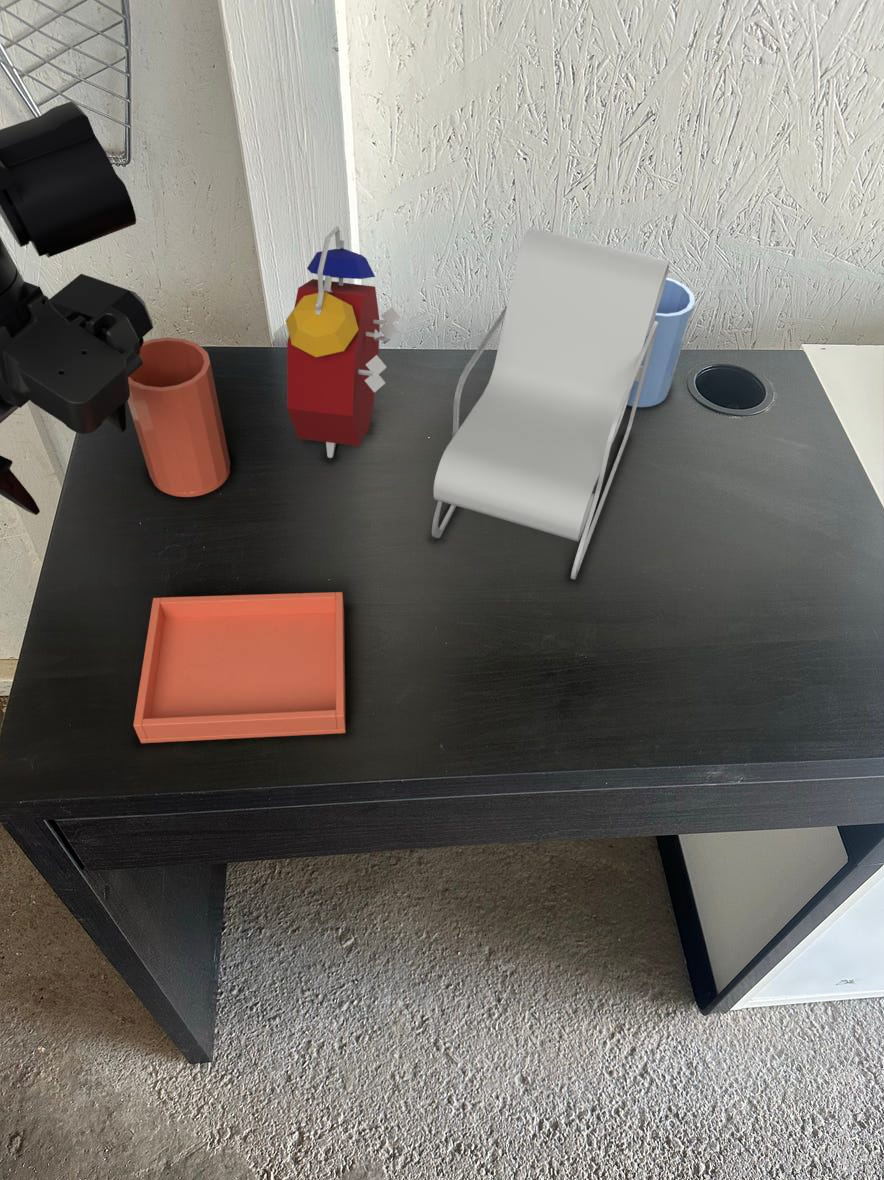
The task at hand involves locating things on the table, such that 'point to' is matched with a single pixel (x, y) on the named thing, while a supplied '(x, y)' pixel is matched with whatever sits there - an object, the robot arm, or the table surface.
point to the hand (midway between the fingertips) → (78, 469)
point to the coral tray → (243, 667)
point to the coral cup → (179, 418)
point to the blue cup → (665, 344)
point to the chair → (554, 388)
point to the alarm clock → (335, 349)
